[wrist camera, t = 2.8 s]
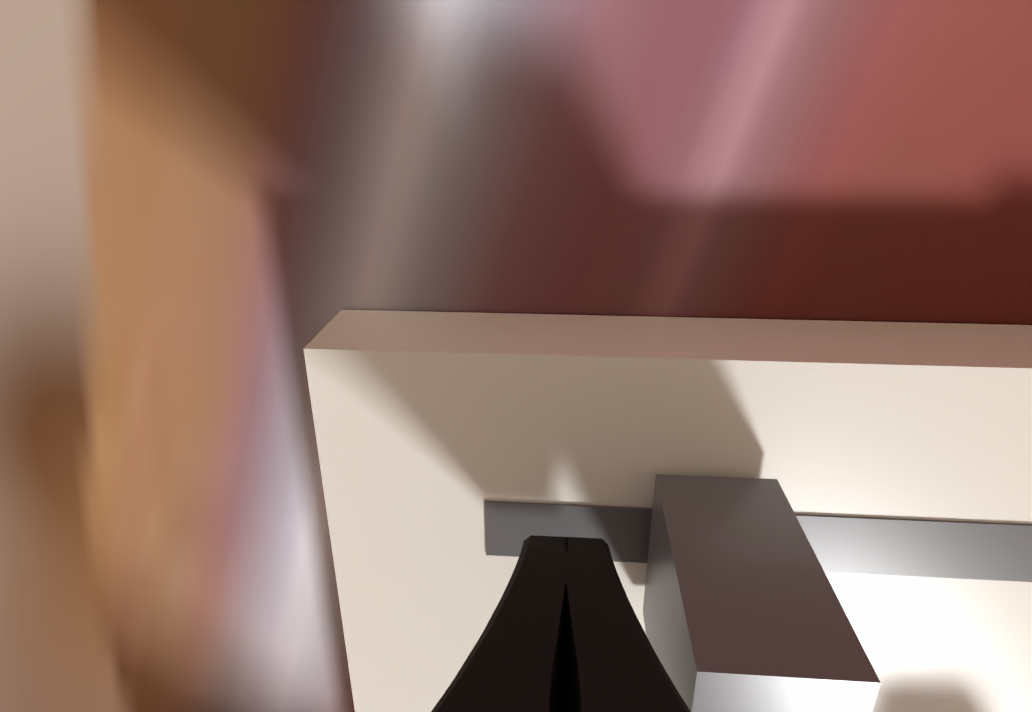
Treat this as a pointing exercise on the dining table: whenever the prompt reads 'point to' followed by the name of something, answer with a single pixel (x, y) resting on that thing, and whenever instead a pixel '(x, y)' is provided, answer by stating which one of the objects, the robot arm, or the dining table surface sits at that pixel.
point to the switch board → (679, 451)
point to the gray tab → (746, 603)
